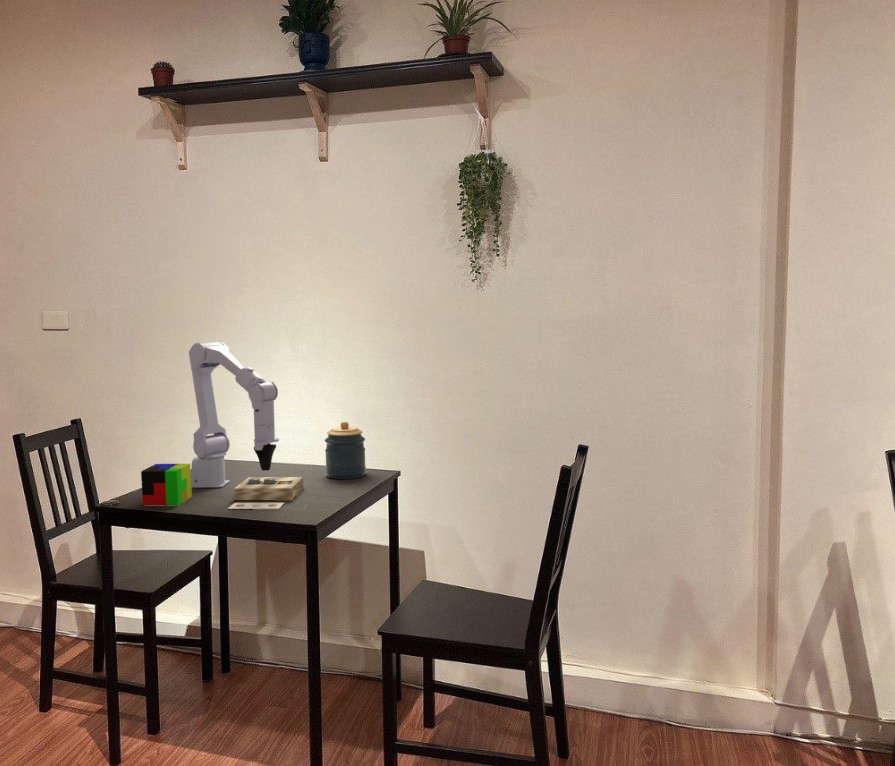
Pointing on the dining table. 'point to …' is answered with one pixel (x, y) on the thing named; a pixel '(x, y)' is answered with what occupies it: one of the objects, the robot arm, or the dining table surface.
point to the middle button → (269, 481)
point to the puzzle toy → (166, 484)
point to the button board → (269, 489)
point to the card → (256, 506)
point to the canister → (345, 452)
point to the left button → (254, 481)
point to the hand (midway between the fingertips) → (265, 470)
